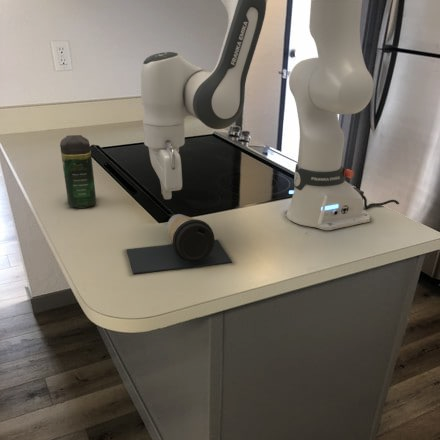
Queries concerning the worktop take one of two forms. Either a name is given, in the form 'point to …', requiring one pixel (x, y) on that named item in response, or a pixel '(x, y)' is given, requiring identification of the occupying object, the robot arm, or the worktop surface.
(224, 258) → the mat
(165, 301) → the worktop surface
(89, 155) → the coffee jar
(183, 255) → the coffee cup
